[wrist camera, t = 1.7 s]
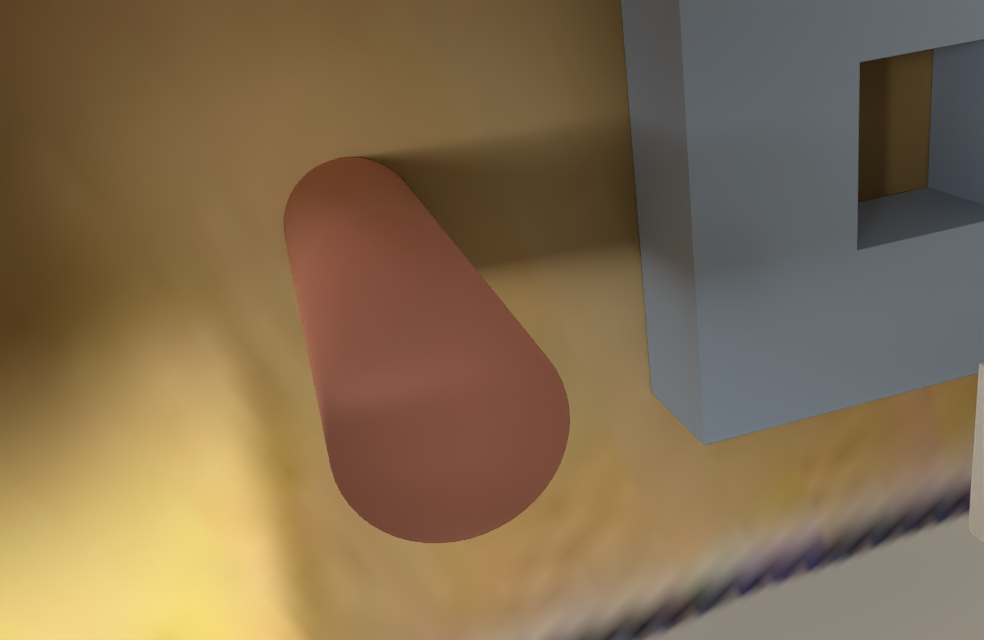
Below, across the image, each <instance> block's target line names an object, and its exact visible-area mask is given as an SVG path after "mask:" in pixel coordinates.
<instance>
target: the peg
mask: <svg viewBox="0 0 984 640" xmlns="http://www.w3.org/2000/svg"><path fill="white" fill-rule="evenodd" d="M284 233H285V239H286V244H287V249H288V254H289V259H290V264H291V269H292V274H293V279H294V284H295V289H296V294H297V299H298V304H299V309H300V314H301V319H302V324H303V330H304V335H305V340H306V345H307V350H308V355H309V360H310V365H311V370H312V375H313V380H314V385H315V390H316V395H317V400H318V405H319V410H320V415H321V420H322V425H323V431H324V436H325V441H326V446H327V451H328V456H329V461H330V466H331V469H332V473H333V476H334V479H335V482H336V484H337V486H338V488H339V490H340V492H341V494H342V495H343V497H344V498H345V499H346V501H347V502H348V504H349V505H350V506H351V507H352V508H353V509H354V510H355V511H356V512H357V514H358V515H359V516H361V517H362V518H363V519H364V520H366V521H367V522H368V523H370V524H371V525H373V526H374V527H376V528H378V529H380V530H381V531H383V532H386V533H388V534H390V535H393V536H395V537H398V538H402V539H406V540H409V541H416V542H423V543H447V542H456V541H461V540H466V539H470V538H473V537H476V536H479V535H483V534H485V533H488V532H490V531H492V530H494V529H496V528H499V527H500V526H502V525H504V524H505V523H507V522H509V521H511V520H512V519H514V518H515V517H516V516H518V515H519V514H520V513H522V512H523V511H524V510H525V509H526V508H527V507H529V506H530V505H531V504H532V503H533V502H534V501H535V500H536V499H537V498H538V496H539V495H540V494H541V493H542V492H543V491H544V489H545V488H546V487H547V485H548V484H549V482H550V481H551V479H552V478H553V476H554V474H555V472H556V471H557V469H558V467H559V465H560V463H561V460H562V457H563V454H564V452H565V449H566V444H567V440H568V435H569V424H570V416H569V404H568V399H567V394H566V391H565V388H564V385H563V382H562V380H561V378H560V376H559V374H558V372H557V370H556V369H555V367H554V366H553V364H552V363H551V362H550V360H549V359H548V358H547V356H546V355H545V354H544V353H543V351H542V350H541V349H540V348H539V347H538V345H537V344H536V343H535V342H534V340H533V339H532V338H531V337H530V335H529V334H528V333H527V332H526V331H525V329H524V328H523V327H522V326H521V324H520V323H519V322H518V321H517V319H516V318H515V317H514V316H513V315H512V313H511V312H510V311H509V310H508V308H507V307H506V306H505V305H504V303H503V302H502V301H501V300H500V299H499V297H498V296H497V295H496V294H495V292H494V291H493V290H492V289H491V287H490V286H489V285H488V284H487V283H486V281H485V280H484V279H483V278H482V276H481V275H480V274H479V273H478V272H477V270H476V269H475V268H474V267H473V265H472V264H471V263H470V262H469V260H468V259H467V258H466V257H465V256H464V254H463V253H462V252H461V251H460V249H459V248H458V247H457V246H456V244H455V243H454V242H453V241H452V240H451V238H450V237H449V236H448V235H447V233H446V232H445V231H444V230H443V228H442V227H441V226H440V225H439V224H438V222H437V221H436V220H435V219H434V217H433V216H432V215H431V214H430V212H429V211H428V210H427V209H426V208H425V206H424V205H423V204H422V203H421V201H420V200H419V199H418V198H417V197H416V195H415V194H414V193H413V192H412V190H411V189H410V188H409V187H408V185H407V184H406V183H405V182H404V181H403V179H402V178H401V177H400V176H399V175H398V174H396V173H395V172H394V171H393V170H391V169H390V168H388V167H387V166H385V165H383V164H381V163H378V162H376V161H373V160H370V159H366V158H359V157H346V158H339V159H335V160H331V161H328V162H326V163H323V164H321V165H319V166H317V167H316V168H314V169H313V170H311V171H310V172H309V173H307V174H306V175H305V176H304V177H303V178H302V179H301V180H300V181H299V183H298V184H297V185H296V186H295V188H294V190H293V191H292V193H291V195H290V197H289V200H288V202H287V205H286V209H285V214H284Z"/></svg>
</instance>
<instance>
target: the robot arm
mask: <svg viewBox="0 0 984 640" xmlns="http://www.w3.org/2000/svg"><path fill="white" fill-rule="evenodd" d="M968 532H970V533H971V534H972V535H974V536H975V537H976V538H977V539H979V540H980V541H981V542H983V543H984V362H983V363H980V364H979V373H978V389H977V404H976V419H975V434H974V450H973V465H972V480H971V495H970V511H969V526H968Z"/></svg>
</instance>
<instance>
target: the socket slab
mask: <svg viewBox="0 0 984 640" xmlns="http://www.w3.org/2000/svg"><path fill="white" fill-rule="evenodd" d="M621 10H622V23H623V35H624V48H625V61H626V73H627V86H628V99H629V111H630V124H631V137H632V150H633V162H634V175H635V188H636V200H637V213H638V226H639V238H640V251H641V264H642V276H643V289H644V302H645V314H646V327H647V340H648V352H649V365H650V378H651V391H652V393H653V394H654V395H655V396H656V397H657V398H658V399H659V400H660V401H661V402H662V403H663V404H664V405H665V406H666V407H667V408H668V409H669V410H670V411H671V413H672V414H673V415H674V416H675V417H676V418H677V419H678V420H679V421H680V422H681V423H682V424H683V425H684V426H685V427H686V428H687V429H688V430H689V431H690V432H691V433H692V434H693V435H694V436H695V437H696V438H697V439H698V440H699V441H700V442H701V443H702V444H703V445H708V444H712V443H715V442H719V441H723V440H727V439H731V438H734V437H738V436H742V435H746V434H749V433H753V432H757V431H761V430H765V429H768V428H772V427H776V426H780V425H784V424H787V423H791V422H795V421H799V420H802V419H806V418H810V417H814V416H818V415H821V414H825V413H829V412H833V411H837V410H840V409H844V408H848V407H852V406H855V405H859V404H863V403H867V402H871V401H874V400H878V399H882V398H886V397H890V396H893V395H897V394H901V393H905V392H909V391H912V390H916V389H920V388H924V387H927V386H931V385H935V384H939V383H943V382H946V381H950V380H954V379H958V378H962V377H965V376H969V375H973V374H977V373H979V364H980V363H983V362H984V0H621ZM933 48H934V54H933V77H932V100H931V123H930V146H929V170H928V187H926V188H921V189H917V190H912V191H908V192H903V193H898V194H894V195H889V196H885V197H880V198H876V199H871V200H866V201H862V202H858V152H859V81H860V62H864V61H870V60H875V59H880V58H886V57H891V56H896V55H902V54H907V53H912V52H917V51H923V50H928V49H933Z"/></svg>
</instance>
